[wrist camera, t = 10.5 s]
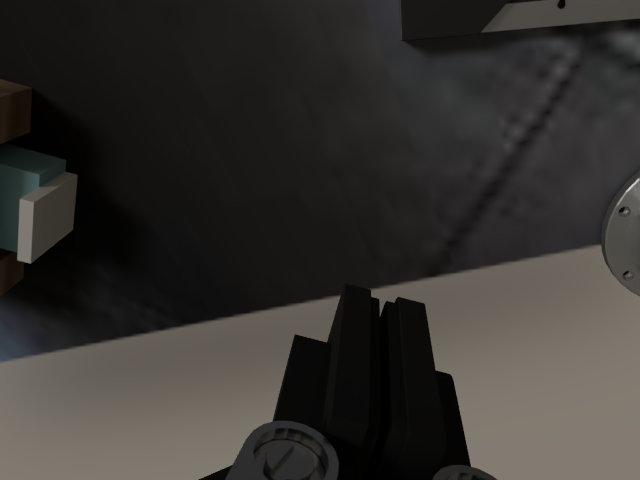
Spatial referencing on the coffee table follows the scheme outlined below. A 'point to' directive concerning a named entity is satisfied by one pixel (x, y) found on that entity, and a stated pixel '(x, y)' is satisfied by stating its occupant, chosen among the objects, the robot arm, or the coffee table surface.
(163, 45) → the coffee table surface
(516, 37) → the coffee table surface
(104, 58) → the coffee table surface
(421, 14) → the picture frame
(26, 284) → the coffee table surface
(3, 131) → the walnut rack
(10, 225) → the teal shell
